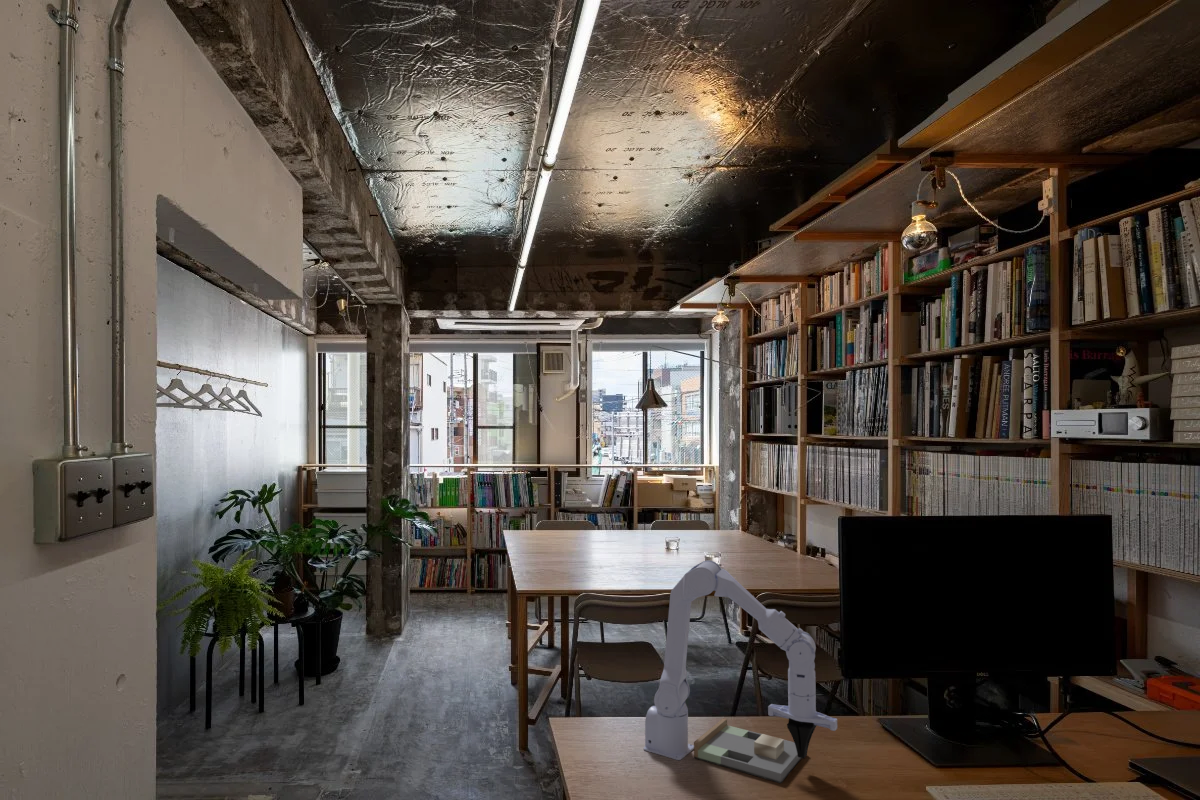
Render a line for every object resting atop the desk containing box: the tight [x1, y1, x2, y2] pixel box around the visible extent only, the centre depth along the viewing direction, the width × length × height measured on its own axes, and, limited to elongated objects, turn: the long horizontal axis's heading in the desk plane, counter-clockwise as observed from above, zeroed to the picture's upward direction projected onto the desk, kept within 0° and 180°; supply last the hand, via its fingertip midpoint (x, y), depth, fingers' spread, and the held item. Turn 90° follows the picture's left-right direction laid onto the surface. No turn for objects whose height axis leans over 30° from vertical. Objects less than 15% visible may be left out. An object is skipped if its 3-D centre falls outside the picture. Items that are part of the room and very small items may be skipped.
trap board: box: [693, 717, 803, 784], centre depth 158 cm, size 20×16×4 cm
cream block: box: [754, 733, 785, 759], centre depth 155 cm, size 5×5×2 cm
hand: (802, 755), depth 151 cm, fingers closed
